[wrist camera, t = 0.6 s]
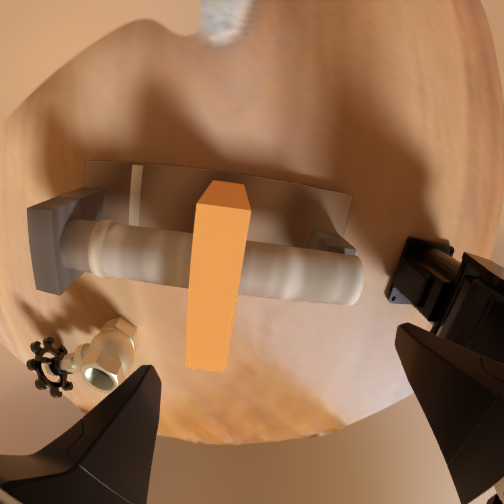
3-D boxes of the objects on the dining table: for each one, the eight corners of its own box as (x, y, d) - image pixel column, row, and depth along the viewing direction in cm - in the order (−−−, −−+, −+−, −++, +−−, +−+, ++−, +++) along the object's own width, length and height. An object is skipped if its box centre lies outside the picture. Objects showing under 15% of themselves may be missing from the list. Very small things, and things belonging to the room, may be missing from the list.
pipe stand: (347, 193, 20) (404, 220, 13) (320, 297, 23) (353, 358, 16) (91, 160, 18) (26, 172, 10) (90, 266, 21) (42, 316, 13)
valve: (121, 297, 22) (45, 326, 23) (92, 343, 16) (16, 362, 17) (157, 352, 25) (77, 370, 25) (141, 403, 18) (57, 410, 19)
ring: (243, 184, 18) (251, 210, 10) (227, 294, 20) (225, 372, 13) (213, 180, 17) (196, 203, 10) (200, 290, 20) (184, 367, 13)
